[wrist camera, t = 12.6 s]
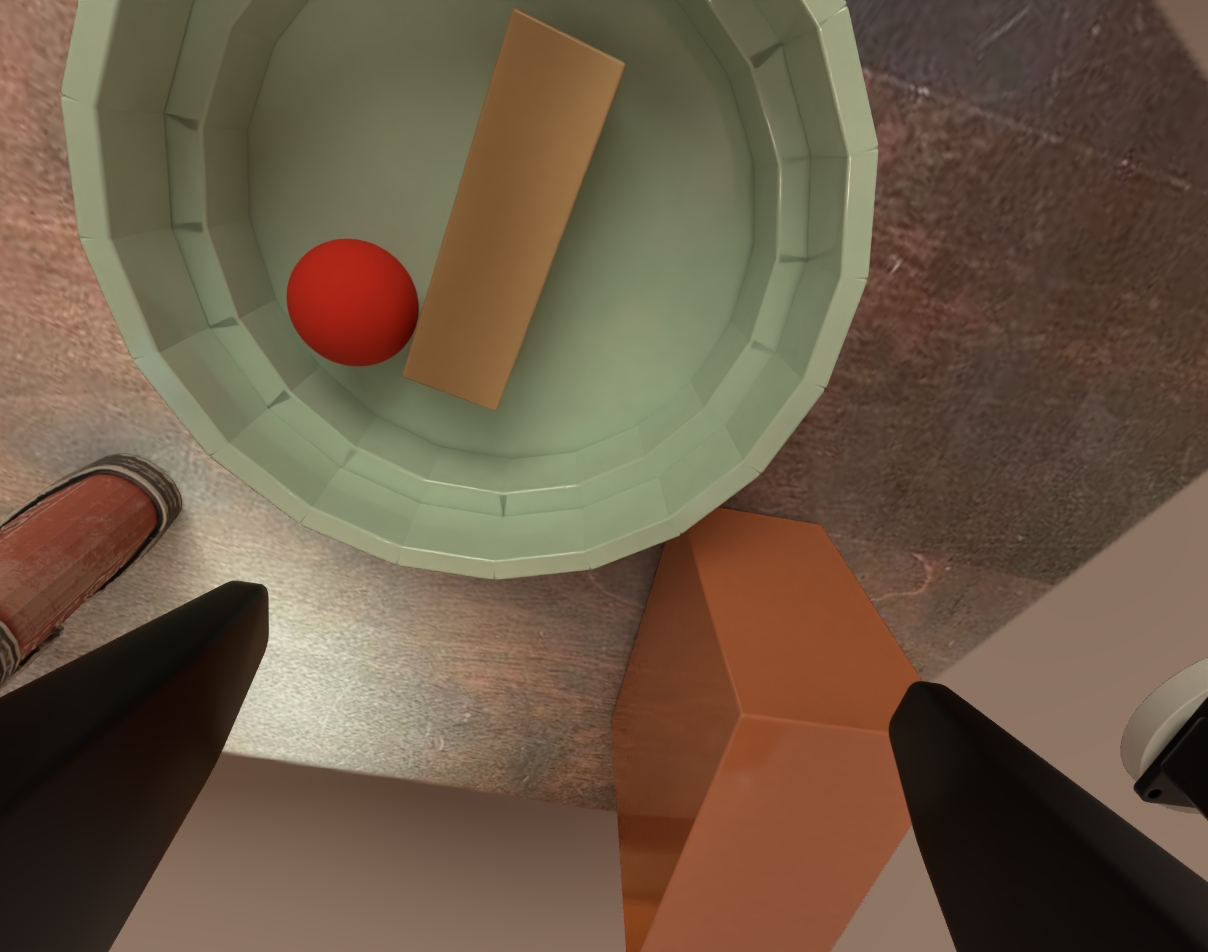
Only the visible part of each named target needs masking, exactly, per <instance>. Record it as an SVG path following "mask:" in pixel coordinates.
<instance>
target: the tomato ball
mask: <svg viewBox="0 0 1208 952" xmlns="http://www.w3.org/2000/svg"><path fill="white" fill-rule="evenodd" d="M286 298H287V308H288V312H289V316H290V319H291V321H292V324H293V326H294V328H295V330H296V331H297V333H298V334H299V336H300V337H301V339H302V340H303V341H304V342H305V343H306V344H307V345H308V346H309V347H310V348H311V349H312V350H314V351H315V352H316V353H318V354H319V355H321V356H322V357H324V358H326V359H328V360H330V361H333V362H335V363H339V364H342V365H347V366H370V365H375V364H378V363H381V362H384V361H386V360H388V359H390V358H391V357H393V356H394V355H396V354H397V353H398V352H400V351H401V350H402V349H403V348H404V347H405V345H406V344H407V343H408V341H409V340H410V338H411V337H412V335H413V333H414V330H415V328H416V325H417V320H418V314H419V302H418V295H417V292H416V288H415V285H414V283H413V281H412V278H411V277H410V275H409V273H408V272H407V270H406V269H405V268H404V266H403V265H402V264H401V263H400V262H399V261H398V260H397V259H396V258H395V257H394V256H393V255H392V254H390V253H389V252H388V251H386V250H385V249H383V248H381V247H379V246H377V245H375V244H373V243H370V242H367V241H363V240H358V239H336V240H331V241H328V242H325V243H322V244H320V245H318V246H316V247H314V248H313V249H311V250H310V251H308V252H307V253H306V254H305V255H304V256H303V257H302V258H301V259H300V260H299V261H298V263H297V264H296V266H295V267H294V269H293V271H292V273H291V276H290V278H289V282H288V286H287V296H286Z"/></svg>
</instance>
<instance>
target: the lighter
mask: <svg viewBox="0 0 1208 952" xmlns="http://www.w3.org/2000/svg"><path fill="white" fill-rule="evenodd" d="M180 509H181V498H180V494H179V492H178V490H177V488H176V486H175V484H174V482H173V481H172V480H171V479H170V478H169V477H168V476H167V475H166V474H165V473H164V471H162V470H161V469H159V468H158V467H156V466H155V465H154V464H152V463H151V462H149V461H147V460H144V459H142V458H139V457H137V456H134V455H127V454H115V455H110V456H106V457H104V458H102V459H100V460H98V461H96V462H94V463H92V464H89V465H87V466H85V467H83V468H81V469H79V470H77V471H75V472H73V473H71V474H68V475H66V476H65V477H63V478H62V479H60V480H59V481H57V482H56V483H54V484H53V485H51V486H50V487H48V488H47V489H45V490H44V491H42V492H41V493H39V494H38V495H36V496H35V497H33V498H32V499H30V500H29V501H27V502H26V503H24V504H23V505H21V506H20V507H18V508H17V509H15V510H14V511H12V512H11V513H10V514H8V515H7V516H6V517H5V518H4V519H3V520H2V521H1V522H0V691H1V690H2V689H3V688H5V687H6V686H7V685H8V684H9V683H10V682H11V681H12V680H13V679H15V678H16V677H17V676H18V675H19V674H20V673H21V672H22V671H24V670H25V669H26V668H27V667H28V666H29V665H30V664H31V663H32V662H33V661H34V660H35V659H36V658H37V657H38V656H39V655H40V654H41V653H42V652H43V651H44V650H46V649H47V648H48V647H49V646H50V645H51V644H52V643H53V642H54V641H55V640H56V639H57V638H58V637H59V636H60V635H61V634H62V633H63V630H64V627H63V626H62V625H61V624H62V623H63V622H64V621H65V620H66V619H67V618H68V617H69V616H70V615H71V614H72V613H73V612H74V611H75V610H77V609H78V608H79V607H80V606H81V605H82V604H84V603H85V602H87V601H88V600H90V599H92V598H93V597H95V596H97V595H98V594H100V593H101V592H103V591H105V590H106V589H108V588H109V587H110V586H111V585H112V584H113V583H114V582H116V581H117V580H118V579H119V578H120V577H121V576H122V575H123V574H124V573H126V572H127V571H128V570H129V569H130V568H131V567H132V566H133V565H134V564H136V563H137V562H138V561H139V560H140V559H141V558H142V557H143V556H144V555H145V554H146V553H147V552H148V551H149V550H150V549H151V548H152V547H153V546H154V545H155V544H156V543H157V541H158V540H159V539H160V538H161V536H162V535H163V534H164V533H165V531H166V530H167V529H168V528H169V526H170V525H171V524H172V523H173V521H174V520H175V519H176V518H177V516H178V514H179V512H180Z"/></svg>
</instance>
